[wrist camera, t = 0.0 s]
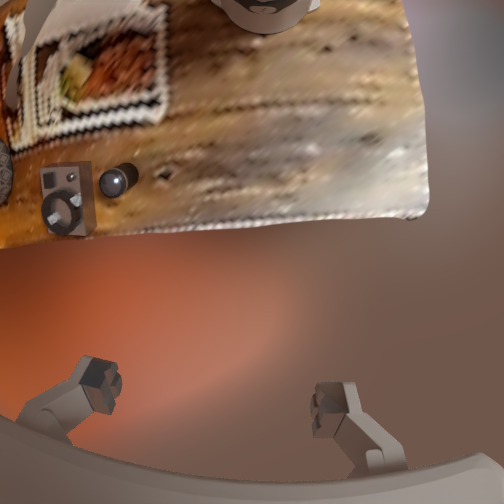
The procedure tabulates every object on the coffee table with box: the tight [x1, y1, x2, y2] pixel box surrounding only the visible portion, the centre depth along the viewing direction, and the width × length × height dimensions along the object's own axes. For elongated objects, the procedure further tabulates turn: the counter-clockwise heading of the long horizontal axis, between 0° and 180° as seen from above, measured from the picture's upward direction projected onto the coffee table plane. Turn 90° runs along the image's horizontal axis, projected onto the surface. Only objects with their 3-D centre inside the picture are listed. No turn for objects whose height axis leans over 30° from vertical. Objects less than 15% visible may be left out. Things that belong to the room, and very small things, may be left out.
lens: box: [99, 163, 139, 198], centre depth 53 cm, size 5×5×7 cm
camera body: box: [40, 161, 97, 236], centre depth 55 cm, size 14×10×7 cm
